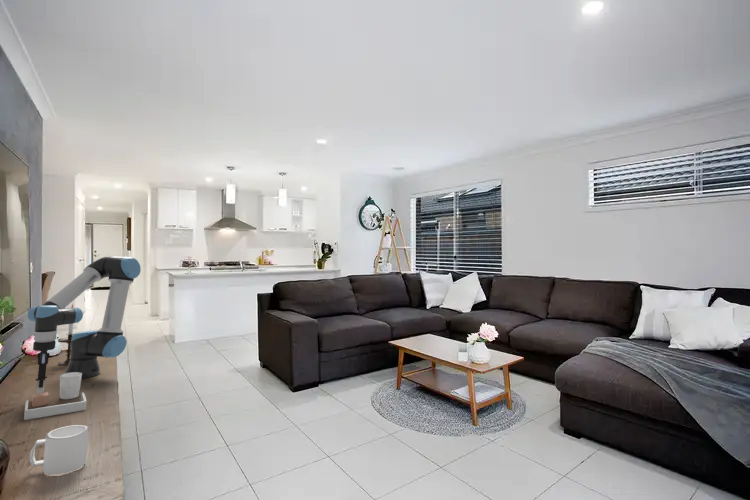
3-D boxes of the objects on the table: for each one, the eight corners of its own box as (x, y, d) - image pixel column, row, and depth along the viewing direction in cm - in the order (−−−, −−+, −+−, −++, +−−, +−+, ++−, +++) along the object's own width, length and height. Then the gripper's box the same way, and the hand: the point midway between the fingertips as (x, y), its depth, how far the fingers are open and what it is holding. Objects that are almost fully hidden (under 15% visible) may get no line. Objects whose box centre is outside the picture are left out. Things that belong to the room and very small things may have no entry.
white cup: (67, 400, 170) (69, 377, 171) (53, 398, 172) (55, 376, 172) (84, 395, 178) (86, 373, 178) (70, 393, 180) (72, 371, 180)
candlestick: (77, 365, 225) (82, 304, 227) (54, 366, 220) (59, 304, 221) (81, 360, 235) (85, 302, 236) (58, 362, 229) (62, 302, 231)
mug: (22, 482, 109) (25, 443, 109) (33, 465, 118) (36, 429, 118) (82, 472, 115) (85, 435, 116) (88, 456, 124) (91, 423, 125)
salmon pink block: (32, 403, 166) (33, 394, 166) (47, 401, 169) (48, 392, 169) (32, 407, 162) (32, 397, 162) (47, 404, 165) (48, 395, 165)
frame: (25, 409, 159) (25, 400, 159) (83, 400, 171) (84, 392, 172) (23, 420, 149) (24, 410, 149) (85, 409, 161) (86, 401, 161)
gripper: (33, 338, 175) (29, 391, 174) (33, 343, 165) (28, 400, 164) (55, 337, 180) (50, 389, 179) (56, 342, 170) (51, 397, 169)
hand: (40, 394), depth 171 cm, fingers closed
